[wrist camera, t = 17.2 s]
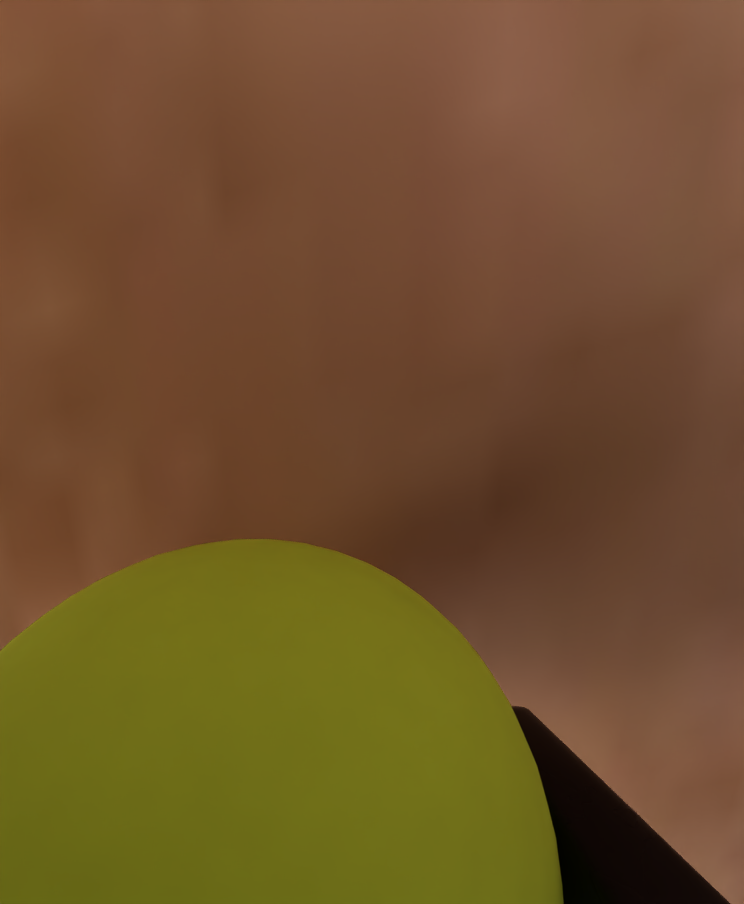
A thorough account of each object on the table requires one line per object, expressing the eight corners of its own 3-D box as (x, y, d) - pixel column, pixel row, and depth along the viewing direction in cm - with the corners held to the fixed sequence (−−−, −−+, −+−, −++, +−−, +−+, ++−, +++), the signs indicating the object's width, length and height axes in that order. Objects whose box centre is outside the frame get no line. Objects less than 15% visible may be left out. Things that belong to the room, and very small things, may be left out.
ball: (546, 735, 9) (952, 1724, 3) (226, 861, 10) (-71, 1862, 3) (379, 402, 8) (364, 716, 1) (28, 578, 9) (-1042, 1305, 2)
